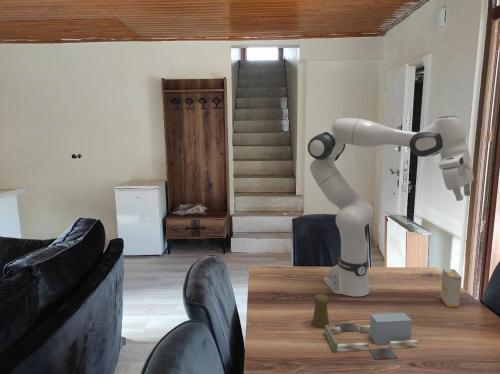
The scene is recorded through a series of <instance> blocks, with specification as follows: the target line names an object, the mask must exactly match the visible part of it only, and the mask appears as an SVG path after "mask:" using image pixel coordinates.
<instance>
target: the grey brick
mask: <svg viewBox="0 0 500 374" xmlns="http://www.w3.org/2000/svg"><path fill="white" fill-rule="evenodd" d="M412 323H413V319H411V318H410V316H408V315H407V314H406V313H405V312H392V313H391V312H389V313H388V312H387V313H371V314H370V321H369V325H370V332H369V337H370V338H371V339H372V341H373V342H374V344H375V345H383V344H385V345H386V344H390V341H405V340H412V329H413V328H412V325H413V324H412Z"/></svg>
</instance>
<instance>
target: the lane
mask: <svg viewBox="0 0 500 374" xmlns="http://www.w3.org/2000/svg"><path fill="white" fill-rule="evenodd" d="M349 332H350V333H351V332H359V333H363V334H365V333H370V324H368V325H360V326H359V328H358V327H357V325H356V324H355V322H349V323H347V322H345V323H335V326H332V327H330V325H329V326H328V325H325V328H324V335H325V336H326V338H327V340H328V343H329V344H330V346H331V349H332V350H333V352H334V353H339V352H356V351H357V352H358V351H369V352H370V353H371V355H372V356H373V358H374V359H375V360H390V359H391V360H392V359H398V358H399V357H398V356H397V354H395V352H394V351H393V349H411V348H419V340H418V339H411V340H405V341H390V343H389V347H385V348H384V347H383V348H370V347H369V343H368V342H355V343H338V341H337V339H336V337H335V336H334V335H340V334H341V333H349Z"/></svg>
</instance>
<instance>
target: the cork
mask: <svg viewBox="0 0 500 374" xmlns="http://www.w3.org/2000/svg"><path fill="white" fill-rule="evenodd" d="M329 301H330V300H329V297H328V295H325V294H324V293H323V294H322V293H320V294H316V295H314V297H313V302H314V310H313V316H312V321H311V322H312V323H311V325H312V326H313V327H314V328H317V329H325V325H328V326H329V327H330V322H329V321H330V320H329V313H328V305H329Z"/></svg>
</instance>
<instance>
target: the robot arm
mask: <svg viewBox="0 0 500 374" xmlns="http://www.w3.org/2000/svg"><path fill="white" fill-rule="evenodd" d="M466 139H467V137H466V132H465V128H464V125H463V122H462V120H461V118H460V117H458V116H455V115H452V116H451V115H447V116H446V115H445V116H440V117H436V118H435V119H434V121H433V122H431V123H430V124H429V125H428V126H427V127H425V128H424V129H422V130H420V131H409V130H405V129H404V130H402V129H396V128H392V127H389V126H386V125H384V124H380V123H378V122H375V121H372V120H369V119H365V118H356V117H340V118H338V119H336V120H335V121H334V122H333V124H332V126H331V130H330V131H329V132H328V131H324V132H322V133H319V134H317V135H315V136H313V137H311V139H309V142H308V144H307V152H308V154H309V156H311V158H313V159H314V160H312V162H311V163H310V164H309V170H310V173H311V176H312V177H313V179H314V181H315V183H316V185H317V186H318V188H320V190H321V192H322V193H323V195H324V196H325V198H326V199H327V200H328V201H329V202H330V203H331V204H333V205H335V206H336V207H337V208H338V210H339V212H338V213H337V215H336V216H335V225H336V227H337V228H338V231H339V235H340V243H341V244H340V256H337V260H338V263H337V264H336V265H334V266H333V267H331V268H329V271H328V275H326V276H325V277H323V281H324V283H325V284H326V285H327V286H328V287H329V289H330V290H331V291H332V292H333V293H334V294H339V295H344V296H348V297H364V296H366V295H368V294H370V289H371V288H372V285H371V284H370V274H369V269H368V268H369V262H368V261H369V260H368V246H369V245H368V241H367V237H366V232H365V231H366V226H367V225H369V223H370V222H371V221H372V220H373V217H374V214H375V213H374V208H373V206H372V204H370V203H369V202H367V201H366V200H365V199H363V197H361V195H359V193H357V191H356V190H354V189H353V188H352V187H351V185H350V184H349V183H348V182H347V180H346V179H345V177H344V176H343V174H342V173H341V172H340V171H339V169H338V168H337V166H336V165H335V162H336V161H337V160H338V159H339V158H340V156H342V154H343V153H344V151H345V148H346V145H351V146H356V147H366V148H367V147H368V148H369V147H370V148H371V147H377V146H378V147H379V146H384V145H385V146H386V145H393V146H400V147H406V148H409V149H410V152H412V154H413V155H415V156H416V157H420V158H427V157H430V156H431V157H432V156H436V155H439V154H440V161H439V163H438V166H439V169H440V170H441V173H442V178H443V181H444V185H445V187H446V189H447V190H449V191H452V192H453V194H454V196H455V199H456V201H457V202H459V201H460V202H461V201H463V200H464V196H465V197H469V196H471V194H472V193H471V182H473V181H474V173H473V170H472V166H471V163H472V161H471V160H472V159H471V154H470V151H469V147H468V146H467V141H466ZM462 187H463V194H464V196H463V194H462V191H461V189H462Z"/></svg>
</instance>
